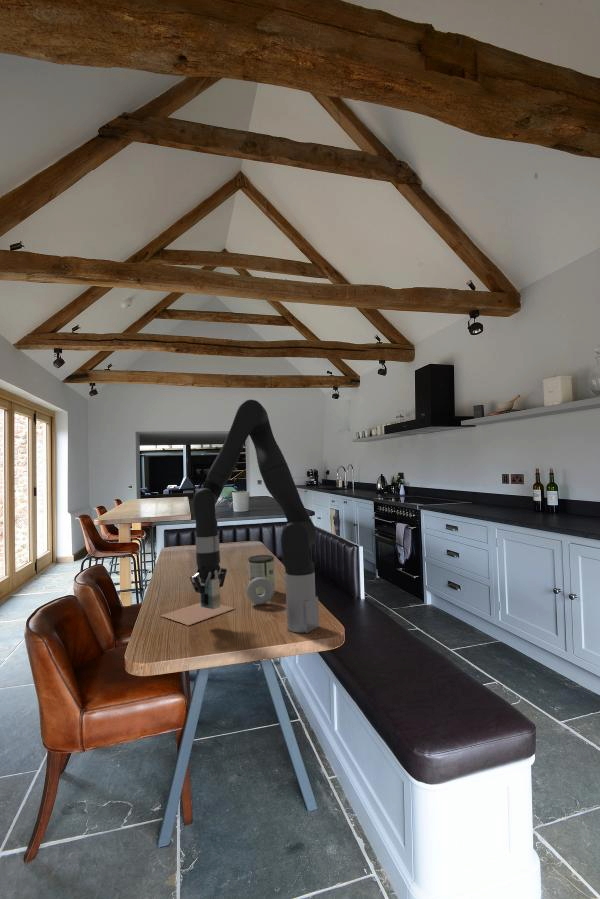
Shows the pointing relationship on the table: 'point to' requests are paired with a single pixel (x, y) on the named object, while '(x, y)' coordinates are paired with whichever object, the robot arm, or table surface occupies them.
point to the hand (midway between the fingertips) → (210, 603)
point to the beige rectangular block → (213, 594)
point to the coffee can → (261, 570)
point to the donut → (264, 597)
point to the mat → (195, 613)
